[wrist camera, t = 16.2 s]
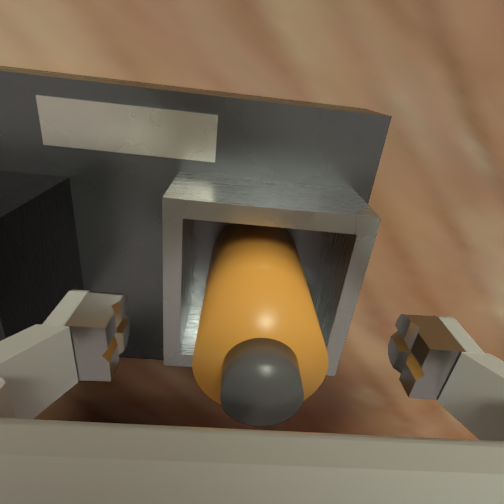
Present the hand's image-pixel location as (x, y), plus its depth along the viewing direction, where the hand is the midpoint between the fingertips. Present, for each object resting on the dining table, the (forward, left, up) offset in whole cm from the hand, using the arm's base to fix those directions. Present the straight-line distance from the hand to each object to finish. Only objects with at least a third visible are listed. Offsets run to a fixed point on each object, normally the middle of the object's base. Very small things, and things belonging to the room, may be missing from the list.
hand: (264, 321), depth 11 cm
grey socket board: (0, -6, -8) cm, 10 cm away
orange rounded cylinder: (0, 0, -5) cm, 5 cm away
